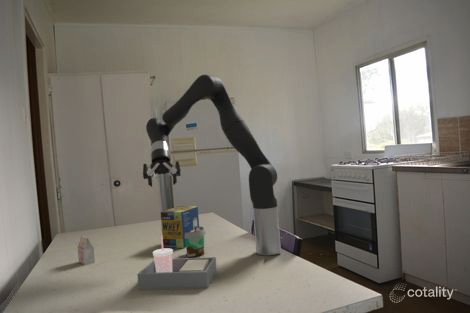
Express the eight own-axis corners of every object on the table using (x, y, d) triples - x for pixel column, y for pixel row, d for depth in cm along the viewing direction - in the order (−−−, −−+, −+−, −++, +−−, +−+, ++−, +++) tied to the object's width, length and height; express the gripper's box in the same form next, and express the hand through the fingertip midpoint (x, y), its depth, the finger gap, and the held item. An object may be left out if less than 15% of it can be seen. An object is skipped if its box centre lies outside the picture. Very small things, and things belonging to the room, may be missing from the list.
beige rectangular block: (210, 273, 110) (209, 259, 110) (203, 285, 100) (201, 270, 100) (188, 273, 111) (187, 259, 111) (179, 286, 101) (178, 270, 101)
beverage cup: (165, 285, 103) (161, 238, 102) (150, 282, 106) (147, 236, 106) (179, 277, 108) (175, 233, 108) (164, 275, 111) (161, 231, 111)
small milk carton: (88, 259, 140) (86, 234, 139) (94, 262, 135) (92, 237, 135) (78, 262, 137) (76, 236, 137) (85, 265, 132) (83, 239, 132)
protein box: (162, 247, 149) (159, 212, 149) (181, 238, 163) (178, 205, 163) (183, 248, 145) (181, 211, 145) (200, 239, 160) (198, 205, 159)
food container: (202, 259, 128) (200, 232, 128) (186, 259, 129) (184, 233, 129) (210, 249, 140) (209, 225, 140) (196, 250, 142) (194, 225, 141)
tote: (216, 274, 111) (215, 257, 111) (208, 291, 98) (206, 272, 98) (155, 275, 114) (154, 259, 114) (138, 292, 101) (137, 274, 101)
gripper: (141, 148, 138) (142, 179, 127) (177, 146, 141) (181, 176, 130) (143, 162, 143) (144, 192, 132) (178, 159, 146) (181, 188, 135)
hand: (162, 184), depth 131 cm, fingers open, 8 cm apart
